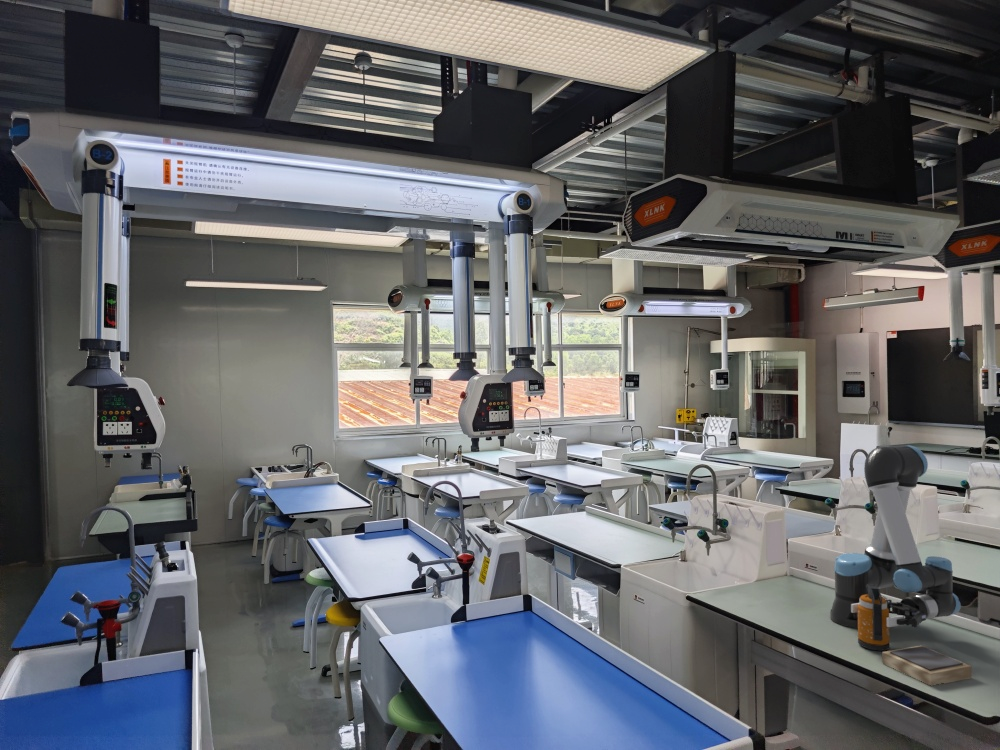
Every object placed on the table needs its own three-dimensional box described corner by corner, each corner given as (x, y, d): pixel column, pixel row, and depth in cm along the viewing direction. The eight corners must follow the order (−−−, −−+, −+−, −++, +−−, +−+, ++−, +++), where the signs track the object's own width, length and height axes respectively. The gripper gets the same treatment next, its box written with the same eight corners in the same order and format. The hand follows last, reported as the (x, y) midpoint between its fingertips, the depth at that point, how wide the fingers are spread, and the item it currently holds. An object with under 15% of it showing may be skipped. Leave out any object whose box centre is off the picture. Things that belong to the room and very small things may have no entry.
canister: (885, 642, 219) (884, 582, 220) (894, 656, 209) (894, 592, 209) (855, 640, 222) (854, 580, 222) (863, 653, 211) (862, 590, 211)
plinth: (882, 663, 203) (882, 650, 203) (921, 656, 208) (921, 643, 208) (930, 686, 188) (930, 671, 188) (971, 678, 193) (971, 664, 193)
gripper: (954, 632, 209) (903, 641, 202) (885, 607, 233) (838, 614, 226) (954, 608, 209) (903, 616, 202) (885, 585, 233) (838, 592, 226)
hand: (869, 615), depth 214 cm, fingers open, 13 cm apart
